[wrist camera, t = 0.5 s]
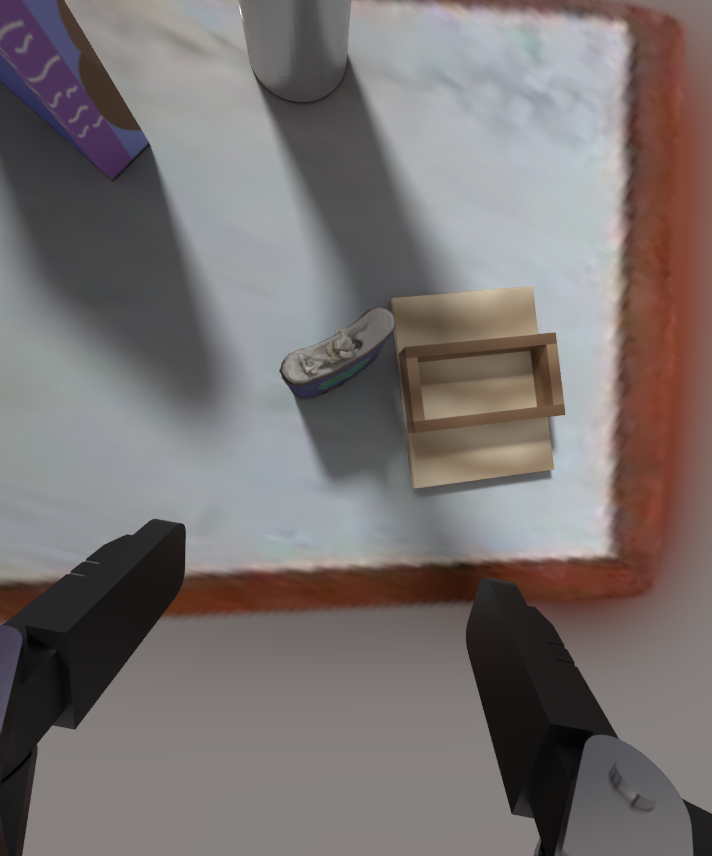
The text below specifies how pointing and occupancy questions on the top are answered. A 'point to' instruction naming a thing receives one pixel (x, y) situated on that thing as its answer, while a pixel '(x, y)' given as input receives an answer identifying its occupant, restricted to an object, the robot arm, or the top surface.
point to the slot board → (475, 385)
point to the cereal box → (66, 82)
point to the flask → (338, 355)
